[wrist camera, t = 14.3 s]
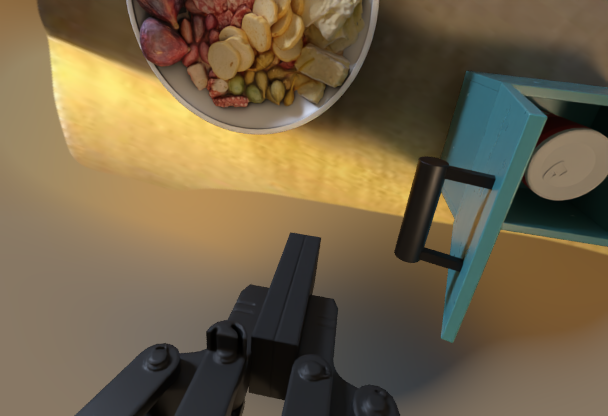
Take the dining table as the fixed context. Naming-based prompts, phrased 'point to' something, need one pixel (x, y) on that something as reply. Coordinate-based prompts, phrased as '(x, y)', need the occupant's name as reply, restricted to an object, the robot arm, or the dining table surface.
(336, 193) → the dining table surface
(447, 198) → the box
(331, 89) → the bowl
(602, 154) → the canned food
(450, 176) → the chest lid
